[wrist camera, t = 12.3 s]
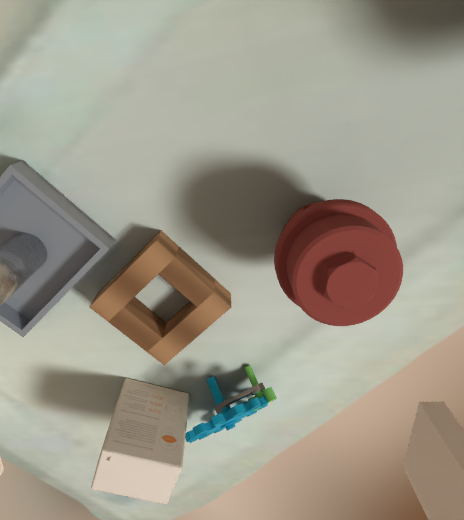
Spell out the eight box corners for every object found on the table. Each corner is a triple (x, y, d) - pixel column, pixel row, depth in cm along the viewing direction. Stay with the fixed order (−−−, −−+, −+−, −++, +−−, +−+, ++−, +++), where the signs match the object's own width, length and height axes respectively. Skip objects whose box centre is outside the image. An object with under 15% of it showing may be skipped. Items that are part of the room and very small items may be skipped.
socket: (161, 230, 40) (156, 240, 37) (230, 293, 43) (231, 307, 40) (98, 293, 42) (89, 306, 39) (167, 348, 45) (164, 365, 42)
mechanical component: (354, 278, 42) (261, 273, 42) (374, 185, 38) (272, 178, 38) (403, 346, 31) (275, 340, 30) (437, 223, 27) (292, 214, 27)
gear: (203, 445, 49) (176, 452, 40) (185, 399, 51) (156, 395, 42) (283, 404, 49) (274, 402, 39) (262, 360, 51) (249, 348, 42)
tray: (23, 160, 37) (10, 164, 35) (115, 240, 40) (109, 248, 38) (-58, 258, 40) (-74, 268, 38) (33, 324, 44) (23, 337, 41)
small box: (114, 411, 49) (87, 490, 39) (125, 375, 47) (99, 449, 37) (178, 426, 50) (167, 507, 40) (191, 392, 48) (182, 468, 38)
